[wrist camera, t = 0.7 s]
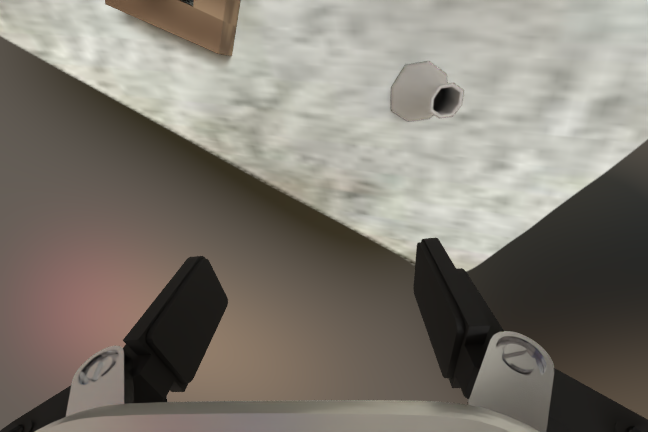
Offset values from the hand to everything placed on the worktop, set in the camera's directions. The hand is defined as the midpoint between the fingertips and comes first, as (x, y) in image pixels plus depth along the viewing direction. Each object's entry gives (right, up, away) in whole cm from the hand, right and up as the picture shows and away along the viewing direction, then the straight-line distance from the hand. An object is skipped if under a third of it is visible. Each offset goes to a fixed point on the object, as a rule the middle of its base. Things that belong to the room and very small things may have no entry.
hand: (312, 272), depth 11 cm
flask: (+13, +19, +21) cm, 31 cm away
